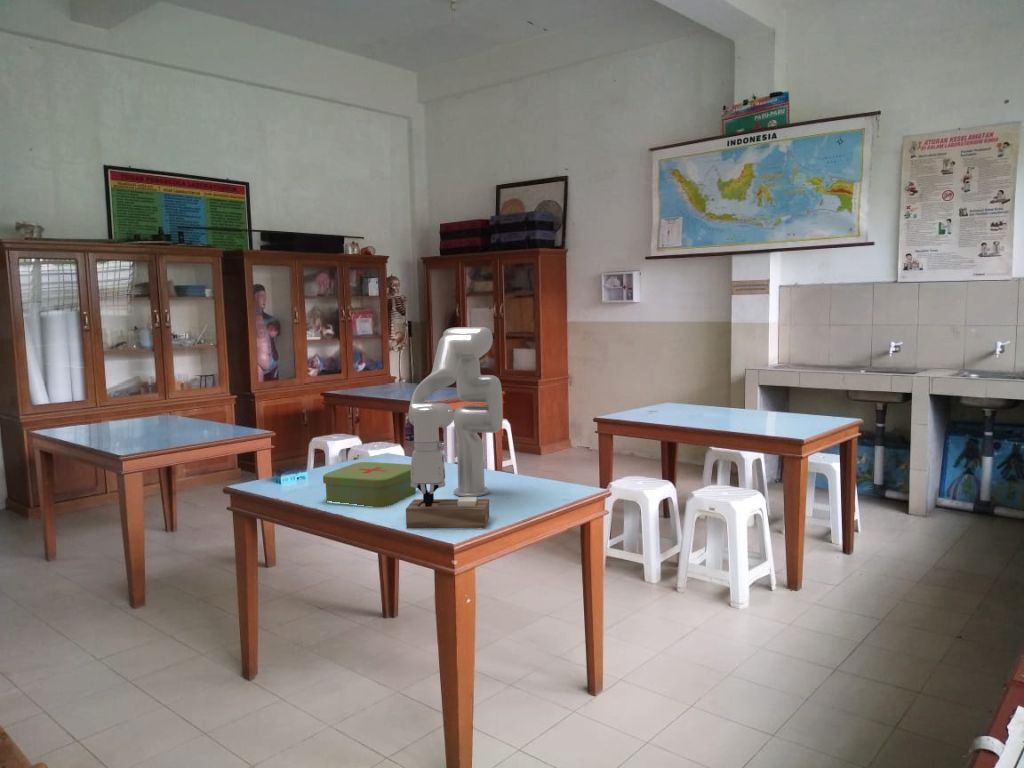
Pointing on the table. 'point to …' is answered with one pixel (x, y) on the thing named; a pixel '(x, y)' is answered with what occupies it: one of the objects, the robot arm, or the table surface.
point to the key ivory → (467, 501)
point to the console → (447, 514)
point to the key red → (431, 505)
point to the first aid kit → (369, 484)
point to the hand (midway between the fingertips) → (428, 505)
